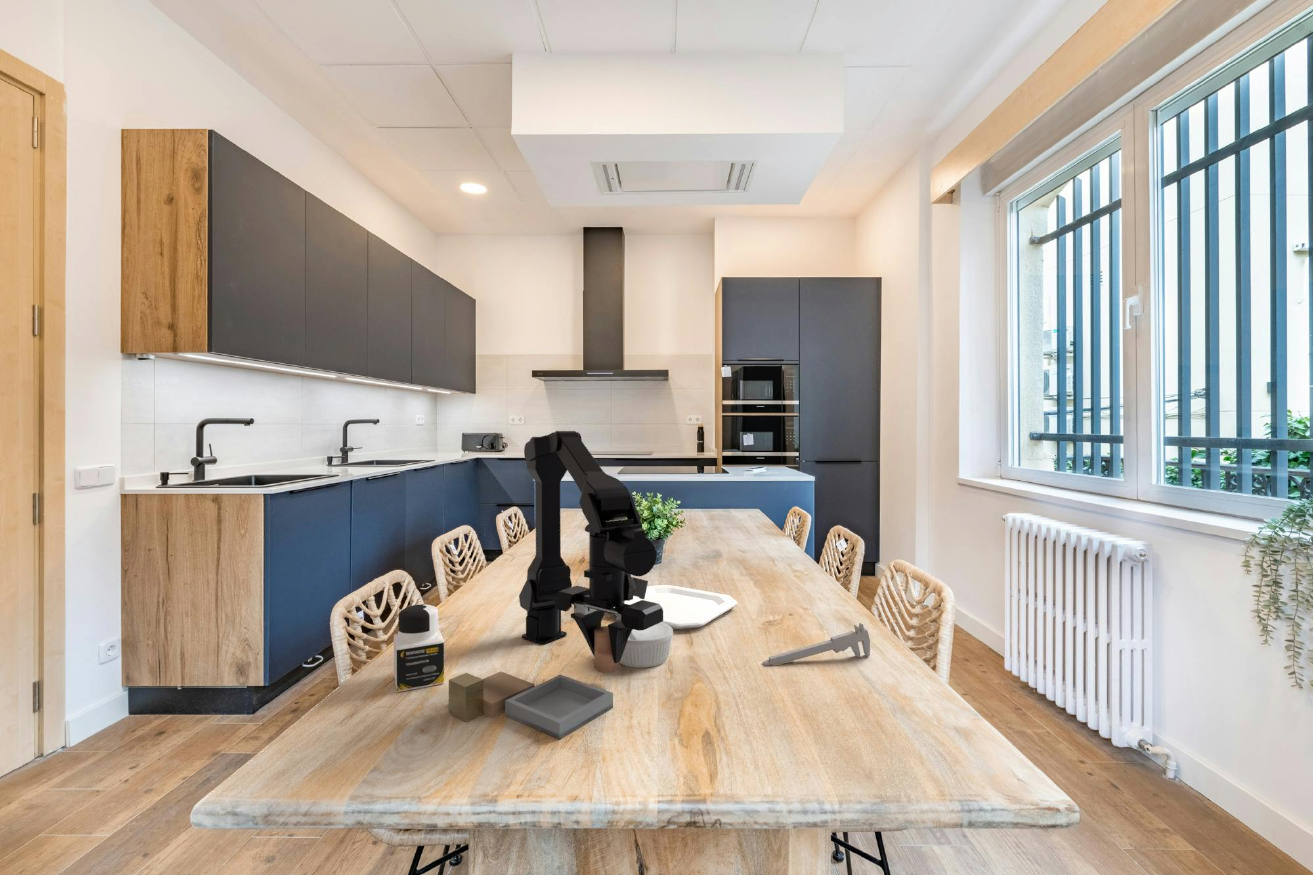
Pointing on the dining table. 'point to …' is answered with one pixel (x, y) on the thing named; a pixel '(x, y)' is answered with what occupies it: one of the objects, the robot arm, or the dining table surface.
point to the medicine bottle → (418, 649)
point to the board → (501, 692)
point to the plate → (686, 605)
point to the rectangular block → (466, 697)
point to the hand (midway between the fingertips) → (606, 659)
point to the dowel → (604, 651)
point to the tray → (559, 705)
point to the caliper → (827, 647)
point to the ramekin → (648, 646)
